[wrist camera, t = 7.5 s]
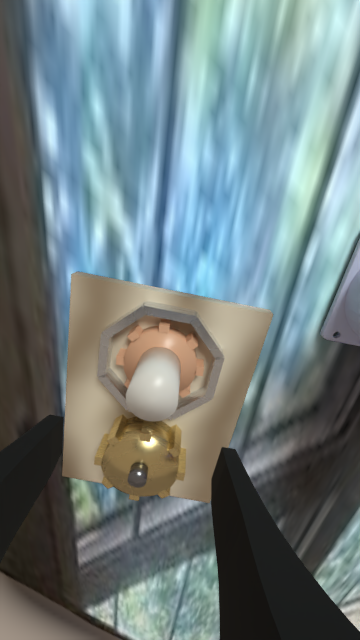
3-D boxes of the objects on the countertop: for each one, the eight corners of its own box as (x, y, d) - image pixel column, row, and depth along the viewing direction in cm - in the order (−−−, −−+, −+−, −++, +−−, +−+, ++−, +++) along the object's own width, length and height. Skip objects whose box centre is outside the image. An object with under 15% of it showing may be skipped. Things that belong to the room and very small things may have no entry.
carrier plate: (269, 309, 19) (273, 314, 18) (208, 492, 26) (209, 502, 25) (77, 271, 19) (71, 274, 18) (67, 466, 25) (62, 476, 24)
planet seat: (231, 317, 18) (234, 323, 17) (204, 415, 21) (205, 426, 20) (109, 293, 18) (104, 297, 17) (99, 395, 21) (94, 405, 20)
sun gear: (193, 419, 21) (193, 454, 18) (177, 480, 24) (175, 520, 21) (108, 403, 21) (93, 435, 18) (100, 466, 24) (86, 504, 21)
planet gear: (209, 325, 19) (215, 360, 14) (196, 397, 21) (197, 448, 16) (122, 313, 19) (98, 344, 14) (118, 387, 21) (96, 435, 16)
